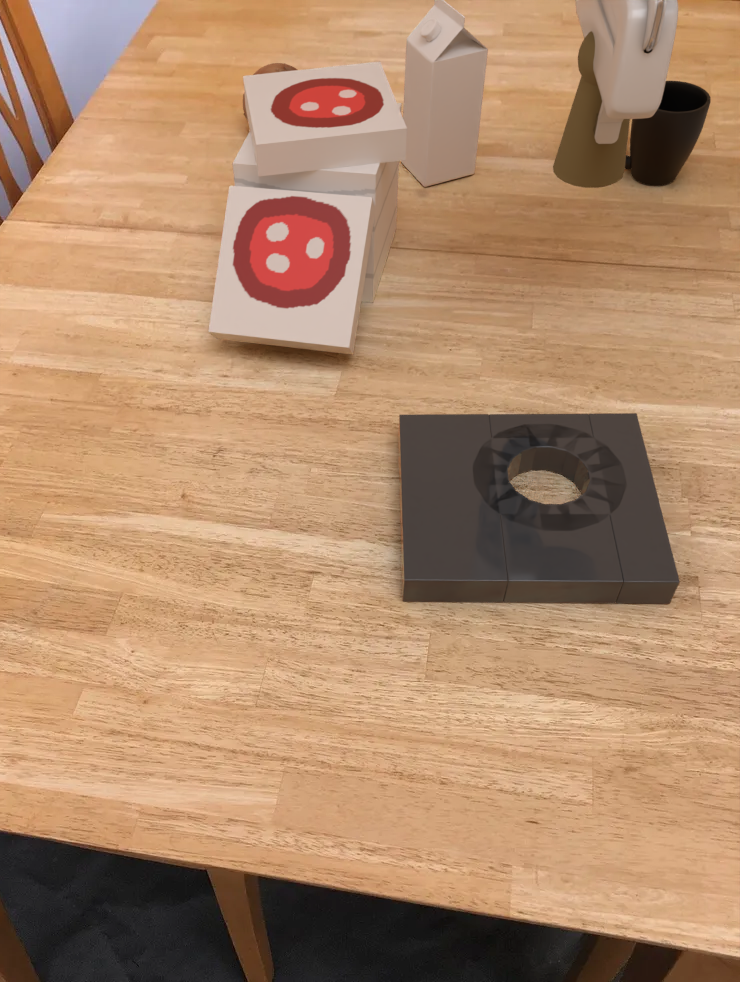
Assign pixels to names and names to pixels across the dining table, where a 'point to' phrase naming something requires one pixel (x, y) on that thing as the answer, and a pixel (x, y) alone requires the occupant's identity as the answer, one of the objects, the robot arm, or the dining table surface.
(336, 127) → the pizza boxes
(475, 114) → the milk carton
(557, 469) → the drain plate
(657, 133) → the mug
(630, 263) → the dining table surface
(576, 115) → the brown pawn shaped plug
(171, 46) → the dining table surface
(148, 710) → the dining table surface
